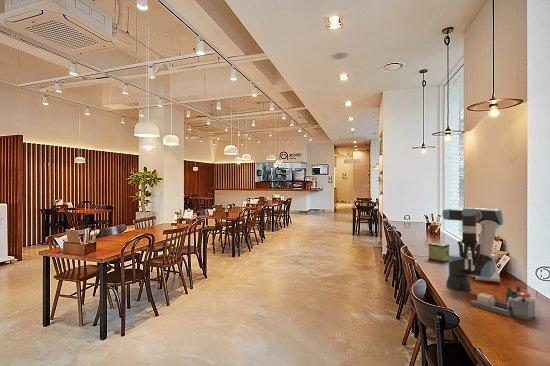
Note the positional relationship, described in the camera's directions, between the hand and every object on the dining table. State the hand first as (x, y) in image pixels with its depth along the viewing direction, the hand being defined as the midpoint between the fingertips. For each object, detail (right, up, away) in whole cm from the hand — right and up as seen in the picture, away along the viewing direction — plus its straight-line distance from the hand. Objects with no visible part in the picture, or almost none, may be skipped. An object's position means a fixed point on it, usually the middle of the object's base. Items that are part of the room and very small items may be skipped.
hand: (469, 269), depth 192 cm
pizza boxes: (+40, -20, +46) cm, 64 cm away
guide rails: (+8, -19, -11) cm, 24 cm away
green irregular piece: (+27, -20, -2) cm, 33 cm away
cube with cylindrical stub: (+5, -20, -7) cm, 21 cm away
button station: (+14, -19, -22) cm, 33 cm away
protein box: (+35, -20, +101) cm, 109 cm away
